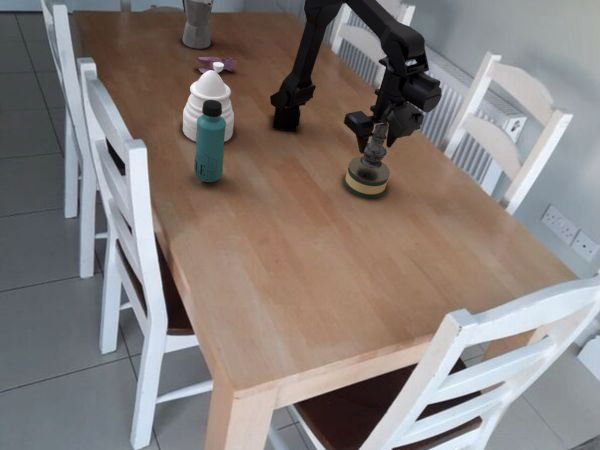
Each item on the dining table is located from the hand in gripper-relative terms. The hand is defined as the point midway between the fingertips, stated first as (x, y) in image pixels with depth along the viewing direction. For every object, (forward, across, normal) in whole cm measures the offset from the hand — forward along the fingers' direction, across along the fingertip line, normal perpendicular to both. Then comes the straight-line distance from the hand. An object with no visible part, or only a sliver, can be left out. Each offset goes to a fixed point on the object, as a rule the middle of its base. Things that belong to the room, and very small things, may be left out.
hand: (374, 149), depth 131 cm
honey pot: (+11, -27, +34) cm, 44 cm away
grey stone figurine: (+4, 0, 0) cm, 4 cm away
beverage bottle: (+11, -35, +14) cm, 40 cm away
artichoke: (+9, -19, +69) cm, 72 cm away
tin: (+11, 0, 0) cm, 11 cm away
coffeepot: (+11, -9, +85) cm, 86 cm away
